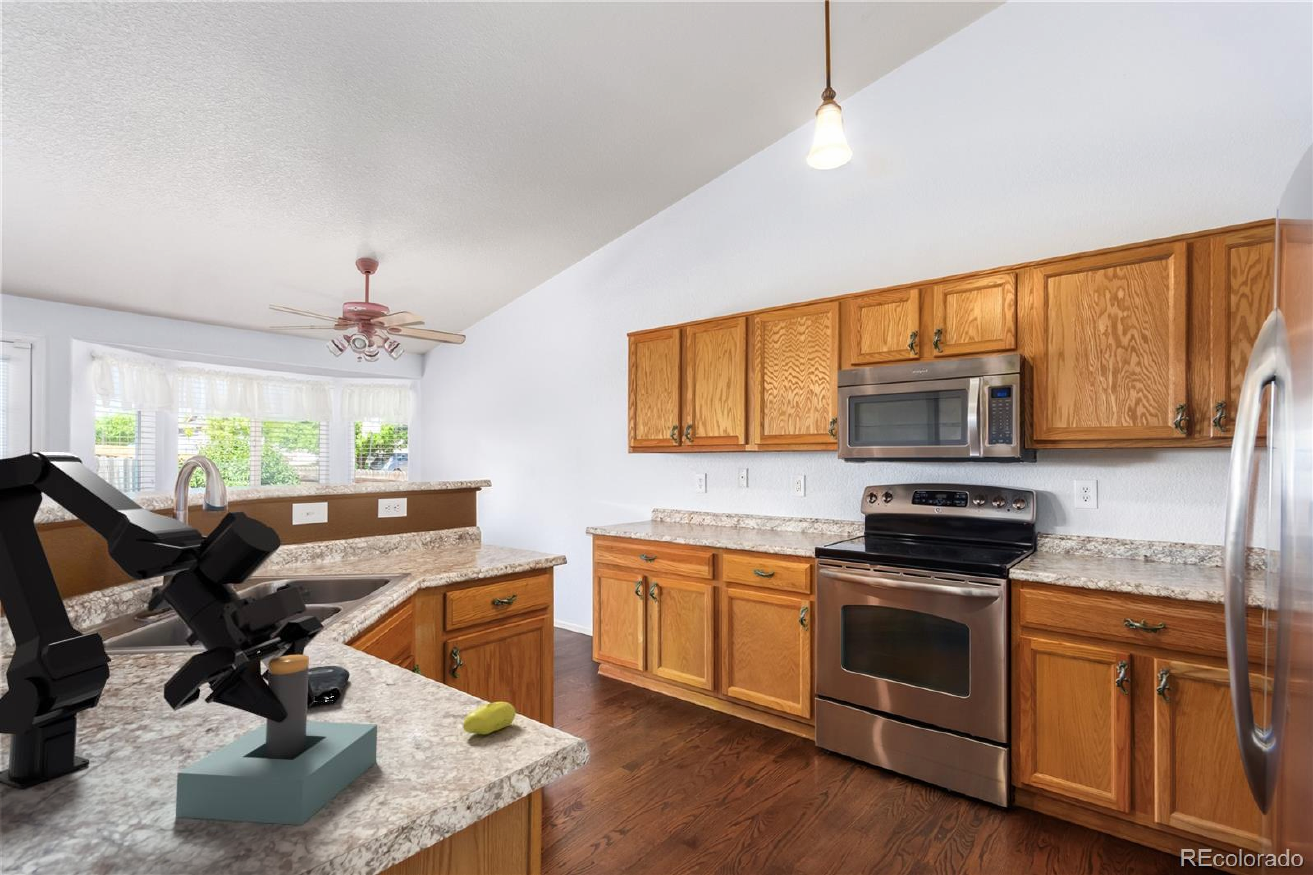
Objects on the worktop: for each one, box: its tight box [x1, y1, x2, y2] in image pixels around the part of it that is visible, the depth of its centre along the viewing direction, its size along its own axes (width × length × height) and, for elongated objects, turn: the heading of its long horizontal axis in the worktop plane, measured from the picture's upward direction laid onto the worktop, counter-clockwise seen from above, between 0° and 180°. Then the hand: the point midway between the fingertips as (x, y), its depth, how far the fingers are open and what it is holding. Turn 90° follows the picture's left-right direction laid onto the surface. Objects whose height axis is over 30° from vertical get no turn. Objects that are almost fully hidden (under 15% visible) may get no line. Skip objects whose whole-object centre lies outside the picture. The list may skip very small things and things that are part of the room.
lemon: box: [462, 701, 516, 736], centre depth 87 cm, size 4×8×4 cm, turn 132°
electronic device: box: [307, 665, 351, 709], centre depth 101 cm, size 9×6×15 cm
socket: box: [175, 720, 378, 826], centre depth 71 cm, size 14×14×4 cm
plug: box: [265, 654, 310, 760], centre depth 72 cm, size 4×4×13 cm
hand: (298, 711), depth 72 cm, fingers open, 4 cm apart
